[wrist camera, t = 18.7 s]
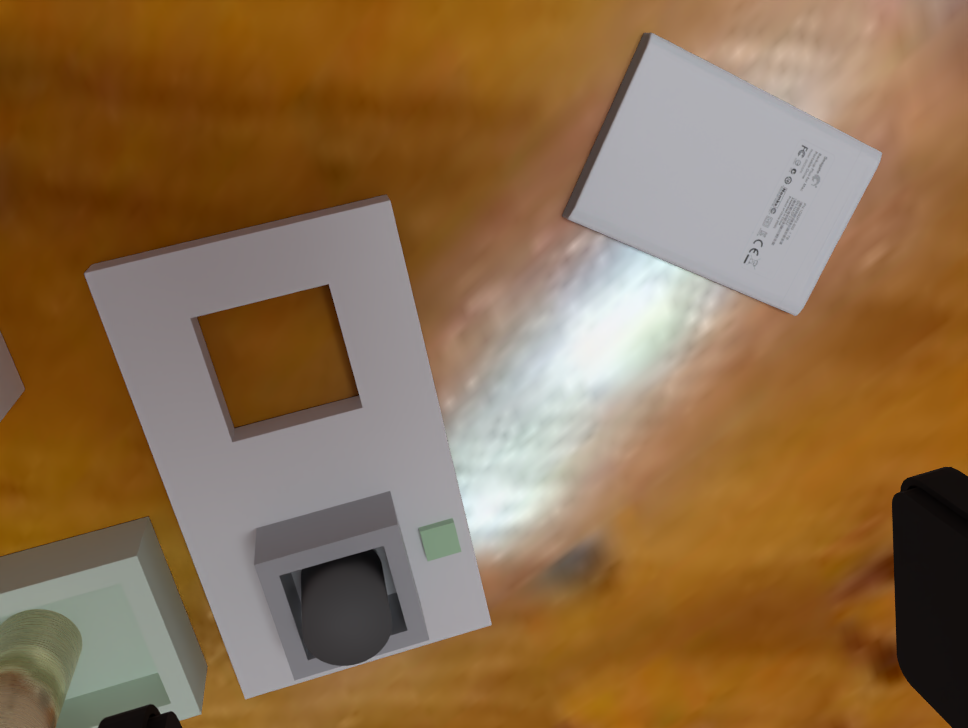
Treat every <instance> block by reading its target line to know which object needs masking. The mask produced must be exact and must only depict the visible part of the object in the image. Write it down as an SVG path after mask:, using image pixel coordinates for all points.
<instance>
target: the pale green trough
mask: <svg viewBox="0 0 968 728" xmlns="http://www.w3.org/2000/svg"><path fill="white" fill-rule="evenodd" d="M32 609H44V610H50V611H54V612H57V613H59V614H62V615H64V616H65V617H67V618H68V619H70V620H71V621H72V622H73V623H74V624H75V625H76V627H77V628H78V630H79V631H80V634H81V636H82V651H81V654H80V657H79V660H78V663H77V666H76V669H75V672H74V675H73V678H72V680H71V683H70V686H69V689H68V692H67V695H66V698H65V701H64V704H63V707H62V710H61V713H60V716H59V719H58V721H57V724H56V727H55V728H98V726H99V724H100V722H101V720H102V719H104V718H105V717H109V716H112V715H115V714H119V713H122V712H125V711H129V710H132V709H135V708H139V707H142V706H145V705H149V704H153V705H155V706H156V707H157V708H158V710H159V712H160V714H163V713H166V712H169V711H172V712H174V713H175V714H176V716H177V718H178V719H179V721H180V720H184V719H187V718H190V717H193V716H197V715H200V714H201V712H202V704H203V697H204V689H205V681H206V674H207V664H206V661H205V659H204V656H203V654H202V651H201V649H200V646H199V643H198V641H197V638H196V636H195V633H194V631H193V628H192V626H191V623H190V621H189V618H188V615H187V613H186V610H185V608H184V605H183V603H182V600H181V598H180V595H179V593H178V590H177V587H176V585H175V582H174V580H173V577H172V575H171V572H170V570H169V567H168V564H167V562H166V559H165V557H164V554H163V552H162V549H161V547H160V544H159V542H158V539H157V536H156V534H155V531H154V529H153V526H152V524H151V521H150V519H149V517H145V518H141V519H138V520H134V521H130V522H127V523H123V524H119V525H116V526H112V527H108V528H105V529H101V530H97V531H94V532H90V533H86V534H83V535H79V536H75V537H72V538H68V539H64V540H61V541H57V542H53V543H50V544H46V545H42V546H39V547H35V548H31V549H28V550H24V551H20V552H17V553H13V554H9V555H6V556H2V557H0V625H1V624H2V623H3V622H4V621H5V620H7V619H8V618H9V617H11V616H12V615H15V614H17V613H19V612H22V611H26V610H32Z"/></svg>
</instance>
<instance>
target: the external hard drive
mask: <svg viewBox="0 0 968 728" xmlns="http://www.w3.org/2000/svg"><path fill="white" fill-rule="evenodd" d="M881 156H882V153H881V152H880V151H878V150H876V149H874V148H872V147H870V146H868V145H866V144H865V143H862V142H860V141H859V140H857V139H855V138H853V137H851V136H849V135H848V134H846V133H844V132H842V131H840V130H838V129H836V128H834V127H832V126H830V125H829V124H827V123H825V122H823V121H821V120H819V119H817V118H815V117H813V116H811V115H810V114H808V113H806V112H804V111H802V110H800V109H798V108H796V107H794V106H792V105H790V104H789V103H787V102H785V101H783V100H781V99H779V98H777V97H775V96H773V95H771V94H769V93H767V92H766V91H764V90H762V89H760V88H758V87H756V86H754V85H752V84H750V83H748V82H746V81H744V80H742V79H740V78H739V77H737V76H735V75H733V74H731V73H729V72H727V71H725V70H723V69H721V68H719V67H717V66H715V65H714V64H712V63H710V62H708V61H706V60H704V59H702V58H700V57H698V56H696V55H694V54H692V53H690V52H688V51H686V50H684V49H683V48H681V47H679V46H677V45H675V44H673V43H671V42H669V41H667V40H665V39H663V38H661V37H659V36H657V35H655V34H654V33H644V34H643V36H642V38H641V40H640V43H639V45H638V47H637V49H636V52H635V54H634V56H633V58H632V61H631V63H630V65H629V67H628V70H627V72H626V74H625V76H624V79H623V81H622V83H621V85H620V88H619V90H618V92H617V94H616V97H615V99H614V101H613V103H612V105H611V108H610V110H609V112H608V114H607V117H606V119H605V121H604V123H603V126H602V128H601V130H600V132H599V135H598V137H597V139H596V141H595V144H594V146H593V148H592V150H591V152H590V155H589V157H588V159H587V161H586V164H585V166H584V168H583V170H582V172H581V175H580V177H579V179H578V181H577V184H576V186H575V188H574V190H573V192H572V195H571V197H570V199H569V201H568V204H567V206H566V208H565V210H564V212H563V215H562V216H563V217H564V218H566V219H568V220H570V221H573V222H575V223H577V224H580V225H582V226H585V227H587V228H589V229H592V230H594V231H597V232H599V233H601V234H603V235H606V236H608V237H610V238H613V239H615V240H617V241H620V242H622V243H624V244H627V245H629V246H631V247H634V248H636V249H638V250H641V251H643V252H646V253H648V254H650V255H653V256H655V257H657V258H660V259H662V260H664V261H667V262H669V263H672V264H674V265H676V266H679V267H681V268H683V269H686V270H688V271H690V272H693V273H695V274H697V275H700V276H702V277H705V278H707V279H709V280H712V281H714V282H716V283H719V284H721V285H723V286H726V287H728V288H731V289H733V290H735V291H738V292H740V293H742V294H745V295H747V296H749V297H752V298H754V299H757V300H759V301H761V302H764V303H766V304H769V305H771V306H774V307H776V308H778V309H780V310H783V311H785V312H787V313H790V314H792V315H794V316H797V315H798V314H799V313H800V312H801V310H802V309H803V308H804V306H805V304H806V302H807V300H808V298H809V296H810V294H811V292H812V290H813V289H814V287H815V285H816V283H817V281H818V279H819V277H820V275H821V273H822V271H823V269H824V267H825V265H826V263H827V261H828V260H829V258H830V256H831V254H832V252H833V250H834V248H835V246H836V244H837V242H838V241H839V239H840V237H841V235H842V233H843V231H844V229H845V228H846V226H847V224H848V222H849V220H850V218H851V216H852V214H853V212H854V210H855V209H856V207H857V205H858V203H859V201H860V199H861V197H862V195H863V193H864V191H865V190H866V188H867V186H868V184H869V182H870V180H871V179H872V177H873V175H874V173H875V171H876V169H877V167H878V165H879V162H880V159H881Z"/></svg>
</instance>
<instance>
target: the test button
mask: <svg viewBox="0 0 968 728" xmlns="http://www.w3.org/2000/svg"><path fill="white" fill-rule="evenodd" d="M301 603H302V635H303V640H304V643H305V645H306V647H307V649H308V650H309V652H310V653H311V654H312V655H313V656H314V657H316V658H317V659H319V660H320V661H323V662H325V663H328V664H331V665H336V666H349V665H355V664H359V663H362V662H365V661H367V660H369V659H370V658H372V657H374V656H375V655H376V654H377V653H379V652H380V651H381V650H382V649H383V647H384V646H385V645H386V643H387V642H388V640H389V637H390V635H391V631H392V618H391V612H390V607H389V601H388V595H387V590H386V584H385V579H384V573H383V568H382V563H381V560H380V558H379V556H378V555H377V553H376V552H375V551H374V550H373V549H371V550H367V551H364V552H360V553H357V554H353V555H350V556H346V557H343V558H339V559H336V560H332V561H329V562H325V563H322V564H318V565H315V566H311V567H308V568H304V569H302V571H301Z"/></svg>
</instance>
